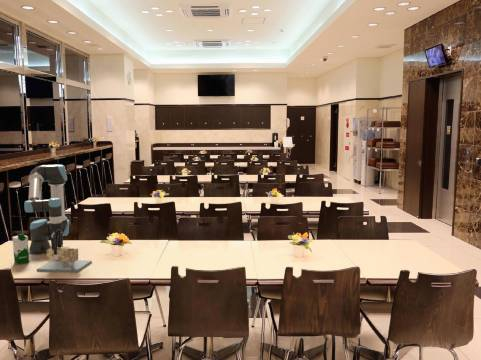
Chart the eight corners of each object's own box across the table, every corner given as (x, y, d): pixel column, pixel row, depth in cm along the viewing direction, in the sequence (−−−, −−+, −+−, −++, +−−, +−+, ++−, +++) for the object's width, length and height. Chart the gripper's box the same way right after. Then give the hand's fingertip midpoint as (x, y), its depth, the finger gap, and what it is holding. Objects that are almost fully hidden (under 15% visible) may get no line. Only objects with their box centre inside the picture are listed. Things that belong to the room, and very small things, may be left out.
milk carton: (17, 265, 303) (15, 235, 301) (12, 262, 310) (10, 233, 307) (30, 262, 310) (29, 233, 307) (26, 259, 316) (24, 231, 313)
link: (78, 259, 295) (78, 248, 294) (74, 262, 288) (74, 251, 287) (50, 258, 295) (50, 248, 294) (46, 261, 289) (45, 250, 288)
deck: (54, 261, 312) (53, 245, 310) (91, 262, 308) (91, 247, 307) (36, 271, 291) (35, 254, 289) (76, 272, 287) (75, 256, 286)
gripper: (56, 219, 298) (58, 254, 300) (43, 225, 281) (46, 262, 283) (67, 219, 297) (69, 254, 300) (55, 225, 280) (57, 262, 283)
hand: (58, 258), depth 292 cm, fingers closed on link, 4 cm apart
